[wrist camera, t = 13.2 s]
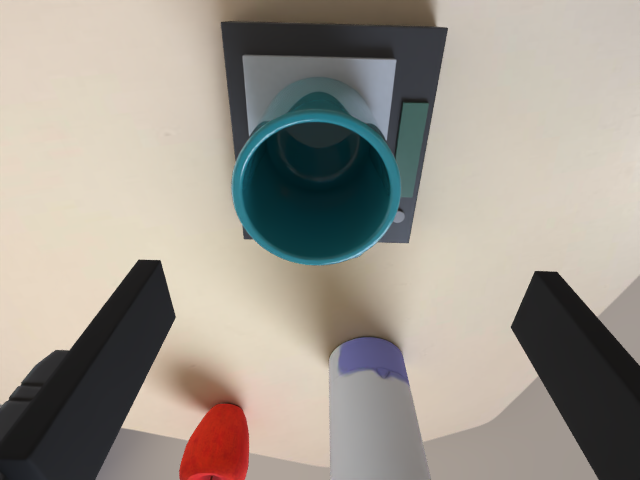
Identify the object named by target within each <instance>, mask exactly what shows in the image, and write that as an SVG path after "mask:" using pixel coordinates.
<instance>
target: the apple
mask: <svg viewBox="0 0 640 480" xmlns="http://www.w3.org/2000/svg"><path fill="white" fill-rule="evenodd" d="M248 463H249V433H248V426H247V421H246V417H245V415H244V412H243V410H242V409H241V408H239V407H238V406H236V405H233V404H217V405H215V406H214V407H212V408H211V409H210V410H209V411H208V413H207V414H206V415H205V416H204V418H203V419H202V421H201V422H200V423H199V425H198V426H197V428H196V429H195V431H194V433H193V434H192V436H191V437H190V439H189V441H188V443H187V445H186V448H185V451H184V455H183V458H182V461H181V465H180V470H179V472H180V473H179V474H180V480H244V479H245V477H246V473H247V470H248Z"/></svg>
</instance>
